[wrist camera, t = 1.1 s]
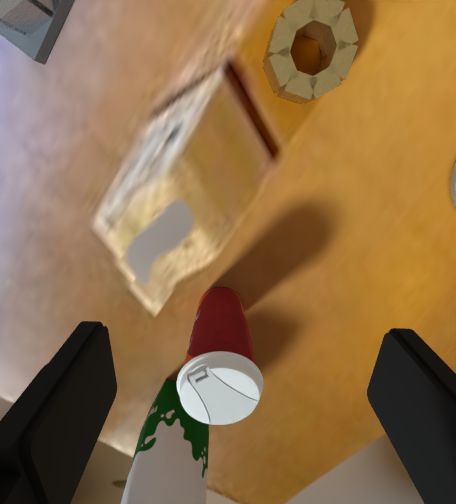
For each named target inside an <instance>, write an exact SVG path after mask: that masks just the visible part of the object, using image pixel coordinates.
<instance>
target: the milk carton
mask: <svg viewBox="0 0 456 504" xmlns="http://www.w3.org/2000/svg"><path fill="white" fill-rule="evenodd" d="M208 444H209V424H206V423H203V422H200V421H198V420H196V419H194V418H193V417H191V416H190V415H189V414H188V413H187V412H186V411H185V410H184V408H183V406H182V404H181V401H180V396H179V394H178V391H177V382H175V381H172V380H169V379H166V380H165V382H164V384H163V386H162V388H161V390H160V392H159V393H158V395H157V397H156V399H155V401H154V403H153V405H152V407H151V408H150V411H149V413H148V415H147V418H146V420H145V422H144V424H143V427H142V430H141V433H140V436H139V440H138V443H137V447H136V451H135V454H134V458H133V461H132V465H131V469H130V473H129V476H128V479H127V483H126V487H125V490H124V494H123V498H122V502H121V504H206V491H207V467H208Z"/></svg>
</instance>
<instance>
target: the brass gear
mask: <svg viewBox="0 0 456 504" xmlns="http://www.w3.org/2000/svg"><path fill="white" fill-rule="evenodd" d="M344 4H345V2H343V1H340V0H298V1H296V2H295V3H293V4H292V5H290V6H289V7H287V8H286V9H284V10H283V11H282V13H281V15H280V16H279V17H278V19H277V21H276V23H275V25H274V27H273V30H272V32H271V35H270V38H269V42H268V45H267V49H266V52H265V56H264V60H263V62H264V63H266V64H265V65H264V67H263V69H264V71H265V73H266V76H267V78H268V80H269V83H270V85H271V88H272V90H273V92H274V93H275V92H277V91H278V90H279V93H278V96H277V97H280V98H283V99H286V100H289V101H292V102H295V103H298V104H302V103H307V102H310V101H312V100H315V99H317V98H318V97H320V96H322V95H323V94H325V93H327V92H329V91H330V90H332V89H334V88H335V87H337V86H339V85H341V81H343V80H345V79H346V77H347V74H348V72H349V69H350V66H351V64H352V61H353V59H354V56H355V54H356V51H357V48H358V46H356V45H353V43H355V42H356V41H358V40H359V39H358V36H357V33H356V29H355V26H354V23H353V19H352V16H351V12H350V9H349V7H348V8H347V9H345V10H344V11H342V9H343V7H344ZM301 35H304V36H306V37H309V38H312V39H314V40H317V42H318V45H319V48H320V51H321V54H322V57H323V58H322V61H321V64H320V67H319V69H318V72H317V74H316V75H314V76H311V75H308V74H306V73H303V72H300V71H297V69H296V67H295V64H294V61H293V59H292V56H291V53H290V50H291V46H292V43H293V40H294V39H296V38H298V37H299V36H301Z"/></svg>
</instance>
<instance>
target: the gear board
mask: <svg viewBox="0 0 456 504" xmlns="http://www.w3.org/2000/svg"><path fill="white" fill-rule="evenodd" d="M73 1H74V0H55V13H53V12H50V11H48V10H47V11H48V12H49V14H50V16H51V17H52V19H51V20H49V21H48V22H47V23H46V24H44V25H43V26H42V27H40V28H39V29H38V30H36V31H35V32H34V33H33V34H31V35H30V34H28V33H26V32H25V35H22V34H19V33H16V32H13V31H10V30H7V29H4V28H1V27H0V34H1V35H2V36H3V37H5V38H6V39H7V40H8V41H10V42H11V43H12V44H14V45H15V46H16V47H18V48H19V49H20V50H21V51H23V52H24V53H25V54H27V55H28V56H29V57H31V58H32V59H33V60H35V61H37V62H39V63H42V64H45V62H46V60H47V58H48V56H49V54H50V51H51V49H52V47H53V45H54V43H55V41H56V38H57V36H58V34H59V32H60V30H61V28H62V25H63V23H64V21H65V19H66V17H67V14H68V12H69V10H70V8H71V6H72V4H73Z"/></svg>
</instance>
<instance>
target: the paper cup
mask: <svg viewBox="0 0 456 504" xmlns="http://www.w3.org/2000/svg"><path fill="white" fill-rule="evenodd" d="M262 390H263V377H262V374H261V372H260V370H259V369H258V367H257V366H256V362H255V357H254V353H253V348H252V344H251V339H250V335H249V331H248V326H247V322H246V318H245V314H244V309H243V306H242V302H241V299H240V297H239V296H238V294H237V293H236V292H234V291H233V290H231V289H229V288H225V287H217V288H213V289H210V290H209V291H207V292H206V293H205V294H204V295H203V296H202V298H201V300H200V303H199V306H198V310H197V314H196V318H195V322H194V326H193V330H192V334H191V338H190V343H189V347H188V351H187V355H186V359H185V363H184V367H183V368H182V369H181V371H180V373H179V374H178V378H177V391H178V394H179V396H180V401H181V404H182V406H183V408H184V410H185V411H186V412H187V413H188V414H189V415H190V416H191V417H193V418H194V419H196V420H198V421H200V422H203V423H206V424H215V425H224V424H231V423H234V422H237V421H240V420H242V419H244V418H245V417H247V416H248V415H250V414H251V413H252V412H253V410H254V409H255V407H256V405H257V403H258V401H259V399H260V395H261V393H262Z"/></svg>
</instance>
